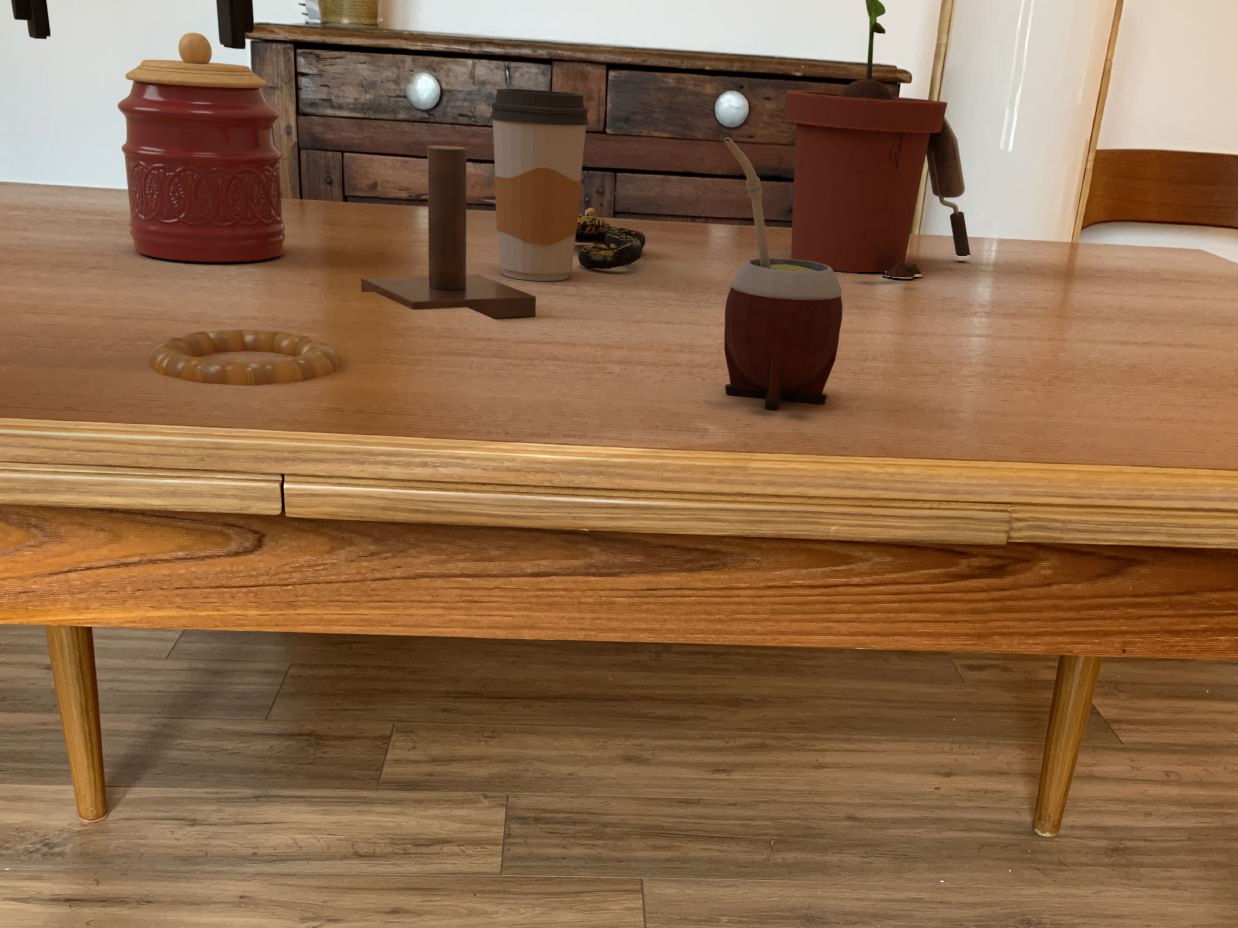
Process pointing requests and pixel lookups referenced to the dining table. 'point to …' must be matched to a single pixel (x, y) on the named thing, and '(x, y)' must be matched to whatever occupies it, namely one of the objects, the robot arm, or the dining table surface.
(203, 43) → the kitchen canister
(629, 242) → the rubber snake
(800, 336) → the mate gourd
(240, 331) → the ring
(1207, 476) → the dining table surface
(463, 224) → the wooden peg stand
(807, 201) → the potted plant
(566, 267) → the coffee cup
